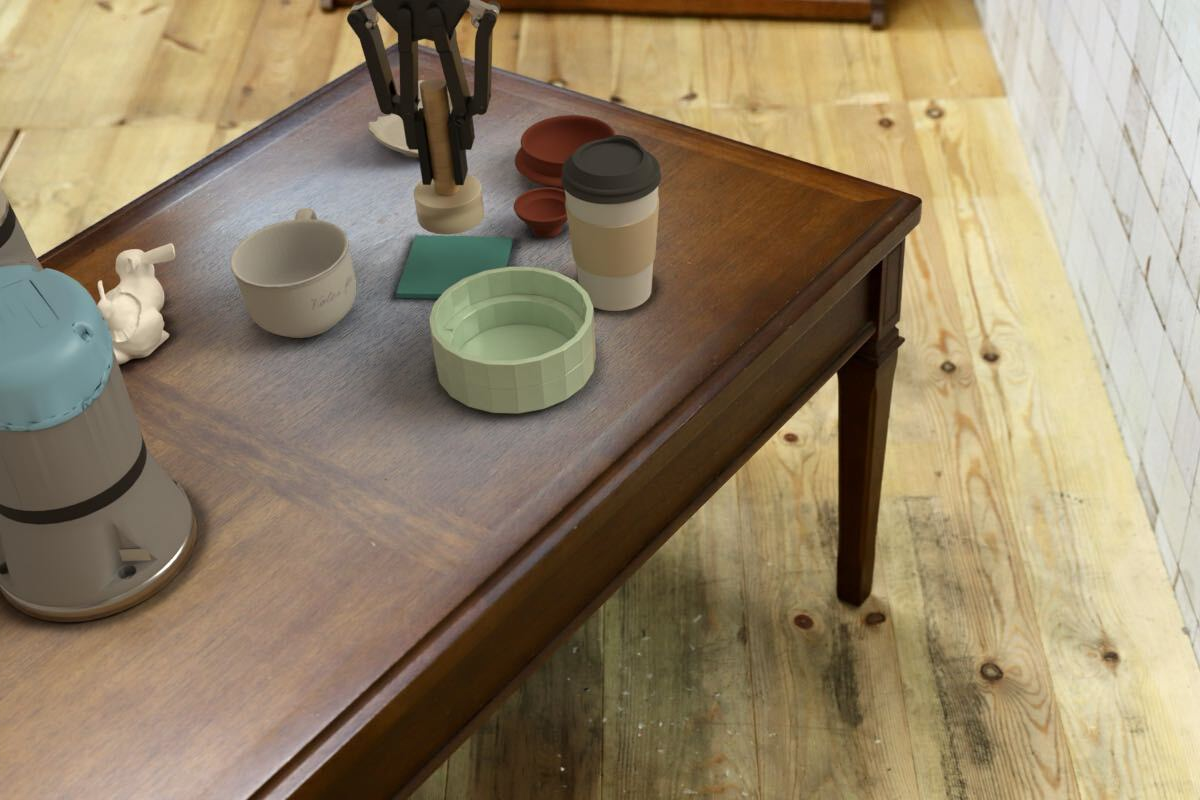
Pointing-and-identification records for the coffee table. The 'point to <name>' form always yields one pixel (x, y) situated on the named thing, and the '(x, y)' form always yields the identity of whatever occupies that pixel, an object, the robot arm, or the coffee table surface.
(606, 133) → the pottery
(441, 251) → the mat
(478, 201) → the wooden peg
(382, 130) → the pottery shard
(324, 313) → the teacup
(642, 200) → the coffee cup
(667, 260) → the coffee table surface
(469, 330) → the bowl
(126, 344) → the rabbit figurine
